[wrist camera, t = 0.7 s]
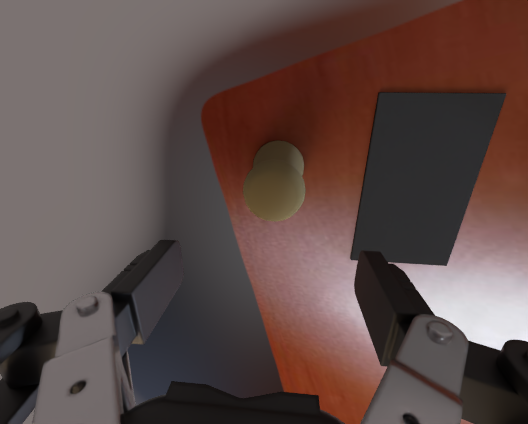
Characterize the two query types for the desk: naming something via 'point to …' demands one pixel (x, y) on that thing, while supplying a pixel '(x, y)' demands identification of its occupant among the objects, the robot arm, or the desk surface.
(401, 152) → the desk mat
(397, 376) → the robot arm
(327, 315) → the desk surface
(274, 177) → the olive pawn piece
